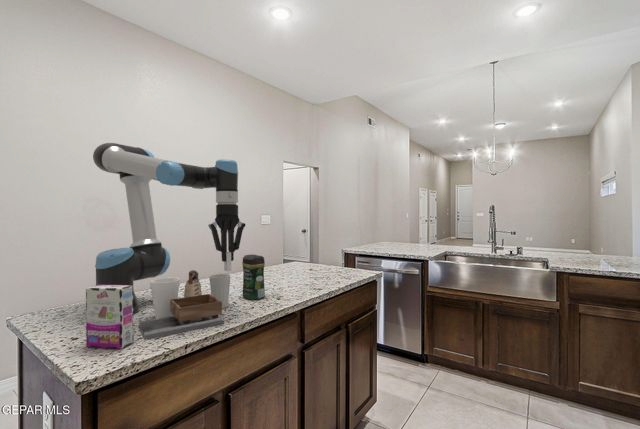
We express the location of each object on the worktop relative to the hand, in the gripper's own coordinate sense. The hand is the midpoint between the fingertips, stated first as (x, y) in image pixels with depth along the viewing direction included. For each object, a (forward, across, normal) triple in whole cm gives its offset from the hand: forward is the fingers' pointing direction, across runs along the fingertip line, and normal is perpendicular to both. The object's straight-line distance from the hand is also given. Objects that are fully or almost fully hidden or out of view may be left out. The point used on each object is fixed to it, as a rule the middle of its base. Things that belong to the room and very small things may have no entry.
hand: (227, 270), depth 116 cm
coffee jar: (+16, +18, +18) cm, 30 cm away
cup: (+16, +2, +14) cm, 22 cm away
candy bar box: (+16, -36, -5) cm, 39 cm away
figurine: (+16, -3, +34) cm, 38 cm away
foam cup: (+16, -18, +13) cm, 27 cm away
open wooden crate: (+14, -11, 0) cm, 18 cm away
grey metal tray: (+16, -16, 0) cm, 22 cm away
